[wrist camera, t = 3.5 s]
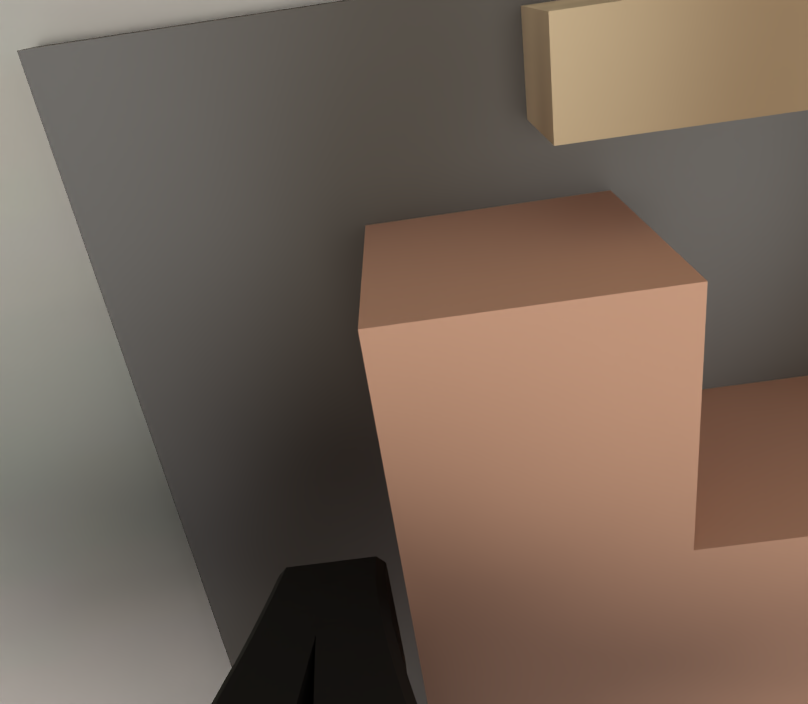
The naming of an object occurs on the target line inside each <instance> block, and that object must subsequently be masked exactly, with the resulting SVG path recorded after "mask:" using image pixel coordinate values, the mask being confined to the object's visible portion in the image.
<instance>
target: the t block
mask: <svg viewBox="0 0 808 704" xmlns="http://www.w3.org/2000/svg"><path fill="white" fill-rule="evenodd" d="M707 285H708V281H707V280H706V279H705V278H704V277H703V276H701V275H700V274H699V273H698V272H697V271H696V270H695V269H694V268H693V267H692V266H691V265H690V264H689V263H688V262H687V261H685V260H684V259H683V258H682V257H681V256H680V255H679V254H678V253H677V252H676V251H675V250H674V249H673V248H672V247H670V246H669V245H668V244H667V243H666V242H665V241H664V240H663V239H662V238H661V237H660V236H659V235H658V234H657V233H656V232H654V231H653V230H652V229H651V228H650V227H649V226H648V225H647V224H646V223H645V222H644V221H643V220H642V219H641V218H639V217H638V216H637V215H636V214H635V213H634V212H633V211H632V210H631V209H630V208H629V207H628V206H627V205H626V204H625V203H623V202H622V201H621V200H620V199H619V198H618V197H617V196H616V195H615V194H614V193H613V192H612V191H611V190H609V191H602V192H595V193H588V194H581V195H574V196H567V197H560V198H553V199H546V200H539V201H532V202H525V203H518V204H511V205H504V206H498V207H491V208H484V209H477V210H470V211H463V212H456V213H449V214H442V215H435V216H428V217H421V218H414V219H407V220H400V221H393V222H386V223H379V224H372V225H365V238H364V252H363V266H362V279H361V293H360V307H359V320H358V333H359V339H360V344H361V349H362V355H363V360H364V365H365V371H366V376H367V381H368V387H369V392H370V397H371V403H372V408H373V414H374V419H375V424H376V430H377V435H378V440H379V446H380V451H381V456H382V462H383V467H384V472H385V478H386V483H387V489H388V494H389V499H390V505H391V510H392V515H393V521H394V526H395V531H396V537H397V542H398V548H399V553H400V558H401V564H402V569H403V574H404V580H405V585H406V590H407V596H408V601H409V606H410V612H411V617H412V623H413V628H414V633H415V639H416V644H417V649H418V655H419V660H420V665H421V671H422V676H423V681H424V687H425V692H426V698H427V703H428V704H808V376H801V377H793V378H786V379H778V380H771V381H763V382H755V383H748V384H740V385H733V386H725V387H717V388H710V389H702V382H703V362H704V343H705V323H706V304H707Z"/></svg>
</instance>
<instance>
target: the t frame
mask: <svg viewBox="0 0 808 704" xmlns="http://www.w3.org/2000/svg"><path fill="white" fill-rule="evenodd" d="M17 52H18V55H19V58H20V61H21V63H22V66H23V69H24V72H25V75H26V78H27V81H28V84H29V86H30V89H31V92H32V95H33V98H34V101H35V104H36V106H37V109H38V112H39V115H40V118H41V121H42V124H43V127H44V129H45V132H46V135H47V138H48V141H49V144H50V147H51V150H52V152H53V155H54V158H55V161H56V164H57V167H58V170H59V172H60V175H61V178H62V181H63V184H64V187H65V190H66V193H67V195H68V198H69V201H70V204H71V207H72V210H73V213H74V216H75V218H76V221H77V224H78V227H79V230H80V233H81V236H82V239H83V241H84V244H85V247H86V250H87V253H88V256H89V259H90V261H91V264H92V267H93V270H94V273H95V276H96V279H97V282H98V284H99V287H100V290H101V293H102V296H103V299H104V302H105V304H106V307H107V310H108V313H109V316H110V319H111V322H112V325H113V327H114V330H115V333H116V336H117V339H118V342H119V345H120V348H121V350H122V353H123V356H124V359H125V362H126V365H127V368H128V371H129V373H130V376H131V379H132V382H133V385H134V388H135V391H136V393H137V396H138V399H139V402H140V405H141V408H142V411H143V414H144V416H145V419H146V422H147V425H148V428H149V431H150V434H151V437H152V439H153V442H154V445H155V448H156V451H157V454H158V457H159V459H160V462H161V465H162V468H163V471H164V474H165V477H166V480H167V482H168V485H169V488H170V491H171V494H172V497H173V500H174V503H175V505H176V508H177V511H178V514H179V517H180V520H181V523H182V525H183V528H184V531H185V534H186V537H187V540H188V543H189V546H190V548H191V551H192V554H193V557H194V560H195V563H196V566H197V569H198V571H199V574H200V577H201V580H202V583H203V586H204V589H205V591H206V594H207V597H208V600H209V603H210V606H211V609H212V612H213V614H214V617H215V620H216V623H217V626H218V629H219V632H220V635H221V637H222V640H223V643H224V646H225V649H226V652H227V655H228V657H229V660H230V663H231V666H232V667H233V665H234V663H235V661H236V660H237V658H238V656H239V654H240V652H241V650H242V648H243V647H244V645H245V643H246V641H247V639H248V637H249V635H250V633H251V631H252V630H253V628H254V626H255V624H256V622H257V620H258V618H259V616H260V614H261V612H262V610H263V608H264V606H265V604H266V602H267V600H268V598H269V596H270V594H271V592H272V590H273V588H274V585H275V583H276V581H277V579H278V577H279V575H280V574H281V573H282V572H283V571H284V569H285V568H286V567H293V566H301V565H310V564H318V563H326V562H334V561H342V560H350V559H358V558H366V557H374V556H377V557H378V558H380V559H381V560H383V561H385V562H386V564H387V569H388V574H389V579H390V584H391V589H392V595H393V600H394V605H395V610H396V615H397V620H398V625H399V630H400V635H401V640H402V645H403V650H404V655H405V660H406V668H407V675H408V678H409V681H410V684H411V687H412V690H413V693H414V696H415V698H416V701H417V704H428V703H427V698H426V692H425V687H424V681H423V676H422V671H421V665H420V660H419V655H418V649H417V644H416V639H415V633H414V628H413V623H412V617H411V612H410V606H409V601H408V596H407V590H406V585H405V580H404V574H403V569H402V564H401V558H400V553H399V548H398V542H397V537H396V531H395V526H394V521H393V515H392V510H391V505H390V499H389V494H388V489H387V483H386V478H385V472H384V467H383V462H382V456H381V451H380V446H379V440H378V435H377V430H376V424H375V419H374V414H373V408H372V403H371V397H370V392H369V387H368V381H367V376H366V371H365V365H364V360H363V355H362V349H361V344H360V339H359V333H358V320H359V307H360V293H361V279H362V266H363V252H364V238H365V225H372V224H379V223H386V222H393V221H400V220H407V219H414V218H421V217H428V216H435V215H442V214H449V213H456V212H463V211H470V210H477V209H484V208H491V207H498V206H504V205H511V204H518V203H525V202H532V201H539V200H546V199H553V198H560V197H567V196H574V195H581V194H588V193H595V192H602V191H609V190H611V191H612V192H613V193H614V194H615V195H616V196H617V197H618V198H619V199H620V200H621V201H622V202H623V203H625V204H626V205H627V206H628V207H629V208H630V209H631V210H632V211H633V212H634V213H635V214H636V215H637V216H638V217H639V218H641V219H642V220H643V221H644V222H645V223H646V224H647V225H648V226H649V227H650V228H651V229H652V230H653V231H654V232H656V233H657V234H658V235H659V236H660V237H661V238H662V239H663V240H664V241H665V242H666V243H667V244H668V245H669V246H670V247H672V248H673V249H674V250H675V251H676V252H677V253H678V254H679V255H680V256H681V257H682V258H683V259H684V260H685V261H687V262H688V263H689V264H690V265H691V266H692V267H693V268H694V269H695V270H696V271H697V272H698V273H699V274H700V275H701V276H703V277H704V278H705V279H706V280H707V281H708V285H707V304H706V323H705V343H704V362H703V382H702V389H710V388H717V387H725V386H733V385H740V384H748V383H755V382H763V381H771V380H778V379H786V378H793V377H801V376H808V0H344V1H337V2H330V3H324V4H317V5H311V6H304V7H297V8H291V9H284V10H277V11H271V12H264V13H258V14H251V15H244V16H238V17H231V18H224V19H218V20H211V21H205V22H198V23H191V24H185V25H178V26H172V27H165V28H158V29H152V30H145V31H138V32H132V33H125V34H119V35H112V36H105V37H99V38H92V39H86V40H79V41H72V42H66V43H59V44H52V45H46V46H39V47H33V48H28V49H23V50H18V51H17Z"/></svg>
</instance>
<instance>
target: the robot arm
mask: <svg viewBox="0 0 808 704" xmlns="http://www.w3.org/2000/svg"><path fill="white" fill-rule="evenodd" d="M212 704H417V701H416V698H415V696H414V693H413V690H412V687H411V684H410V681H409V678H408V675H407V668H406V660H405V655H404V650H403V645H402V640H401V635H400V630H399V625H398V620H397V615H396V610H395V605H394V600H393V595H392V589H391V584H390V579H389V574H388V569H387V564H386V562H385V561H383V560H381V559H380V558H378V557H377V556H374V557H366V558H358V559H350V560H342V561H334V562H326V563H318V564H310V565H301V566H293V567H286V568H285V569H284V571H283V572H282V573H281V574H280V575H279V577H278V579H277V581H276V583H275V585H274V588H273V590H272V592H271V594H270V596H269V598H268V600H267V602H266V604H265V606H264V608H263V610H262V612H261V614H260V616H259V618H258V620H257V622H256V624H255V626H254V628H253V630H252V631H251V633H250V635H249V637H248V639H247V641H246V643H245V645H244V647H243V648H242V650H241V652H240V654H239V656H238V658H237V660H236V661H235V663H234V665H233V667H232V669H231V670H230V672H229V674H228V676H227V677H226V679H225V681H224V683H223V684H222V686H221V688H220V690H219V691H218V693H217V695H216V697H215V698H214V700H213V702H212Z"/></svg>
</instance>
